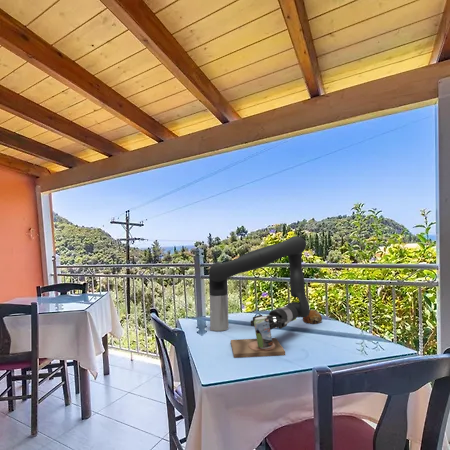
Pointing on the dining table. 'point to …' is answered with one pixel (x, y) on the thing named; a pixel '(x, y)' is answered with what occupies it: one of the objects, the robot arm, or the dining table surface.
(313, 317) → the bread roll
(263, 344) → the beverage can
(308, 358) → the dining table surface
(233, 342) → the serving board
